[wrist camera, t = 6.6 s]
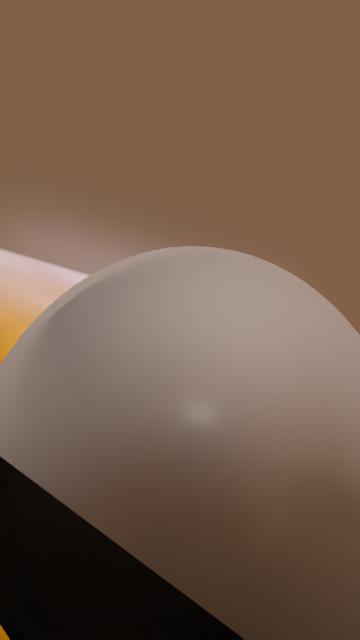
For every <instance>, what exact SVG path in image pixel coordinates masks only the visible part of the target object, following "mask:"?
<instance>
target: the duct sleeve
mask: <svg viewBox="0 0 360 640" xmlns="http://www.w3.org/2000/svg"><path fill="white" fill-rule="evenodd" d="M0 625H1V626H2V628H3V629H4V631H5V632H6V634H7V635H8V637H9V638H10V640H360V335H359V334H358V333H357V332H356V330H355V329H354V328H353V327H352V326H351V324H350V323H349V322H348V321H347V320H346V318H345V317H344V316H343V315H342V314H341V313H340V312H339V311H338V310H337V309H336V308H335V307H334V306H333V305H332V304H331V303H330V302H329V301H328V300H327V299H325V298H324V297H323V296H322V295H321V294H319V293H318V292H317V291H316V290H314V289H313V288H312V287H311V286H309V285H308V284H306V283H305V282H303V281H302V280H300V279H299V278H298V277H296V276H295V275H293V274H291V273H289V272H287V271H285V270H284V269H282V268H280V267H278V266H276V265H274V264H272V263H269V262H267V261H265V260H262V259H260V258H257V257H255V256H251V255H248V254H244V253H241V252H237V251H233V250H227V249H221V248H214V247H197V246H186V247H172V248H165V249H159V250H155V251H149V252H145V253H141V254H138V255H135V256H132V257H129V258H126V259H123V260H120V261H118V262H116V263H114V264H112V265H110V266H108V267H105V268H103V269H101V270H99V271H97V272H95V273H94V274H92V275H91V276H89V277H87V278H86V279H84V280H83V281H81V282H79V283H78V284H76V285H75V286H73V287H72V288H71V289H69V290H68V291H67V292H66V293H64V294H63V295H62V296H61V297H60V298H58V299H57V300H56V301H55V302H53V303H52V304H51V305H50V306H49V307H48V308H47V309H46V310H45V311H44V312H43V313H42V314H41V315H40V316H39V317H38V318H37V319H36V320H35V321H34V322H33V323H32V324H31V325H30V326H29V327H28V328H27V329H26V331H25V332H24V333H23V335H22V336H21V337H20V339H19V340H18V341H17V343H16V344H15V345H14V347H13V348H12V349H11V351H10V352H9V353H8V355H7V356H6V357H5V359H4V360H3V362H2V363H1V365H0Z"/></svg>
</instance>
